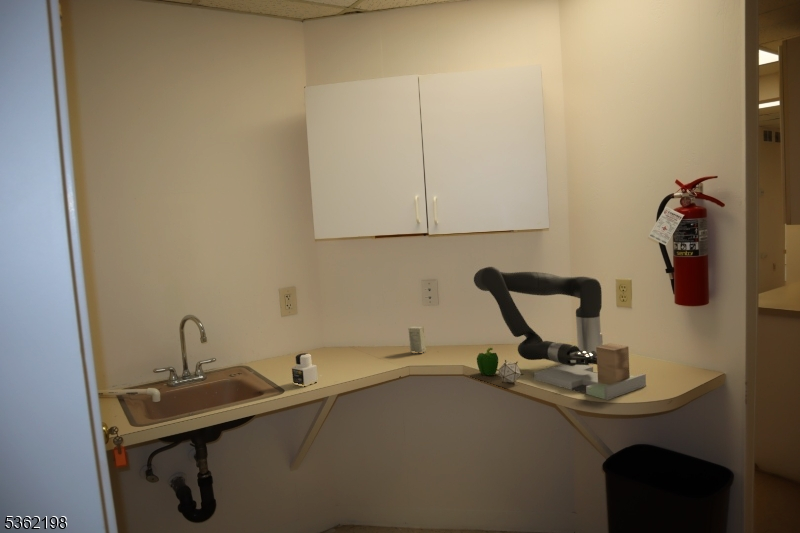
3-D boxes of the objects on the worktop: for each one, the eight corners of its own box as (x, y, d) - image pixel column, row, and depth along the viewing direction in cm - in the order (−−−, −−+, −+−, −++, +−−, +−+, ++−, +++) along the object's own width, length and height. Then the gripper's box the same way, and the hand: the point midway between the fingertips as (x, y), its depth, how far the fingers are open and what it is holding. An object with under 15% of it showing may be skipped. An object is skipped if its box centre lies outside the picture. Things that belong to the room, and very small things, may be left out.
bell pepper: (483, 378, 194) (481, 352, 193) (474, 373, 202) (472, 348, 201) (503, 375, 196) (502, 349, 195) (494, 369, 204) (492, 345, 203)
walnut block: (611, 377, 175) (609, 343, 174) (629, 382, 169) (628, 346, 168) (598, 382, 172) (596, 346, 171) (616, 386, 166) (614, 350, 165)
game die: (510, 394, 184) (499, 377, 179) (499, 380, 192) (488, 363, 187) (530, 380, 184) (520, 363, 180) (519, 367, 192) (509, 349, 187)
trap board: (571, 368, 198) (571, 358, 198) (646, 385, 172) (645, 374, 171) (534, 379, 188) (533, 368, 188) (607, 399, 161) (606, 387, 161)
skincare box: (426, 352, 242) (424, 326, 241) (421, 354, 238) (420, 328, 237) (414, 351, 245) (412, 325, 244) (410, 353, 242) (408, 327, 241)
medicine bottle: (293, 385, 204) (290, 355, 203) (307, 380, 210) (304, 351, 209) (304, 387, 200) (301, 357, 199) (318, 382, 205) (315, 353, 204)
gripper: (550, 346, 184) (590, 355, 169) (575, 340, 191) (616, 347, 176) (551, 367, 185) (591, 377, 170) (576, 360, 191) (617, 369, 177)
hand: (604, 362), depth 173 cm, fingers closed
